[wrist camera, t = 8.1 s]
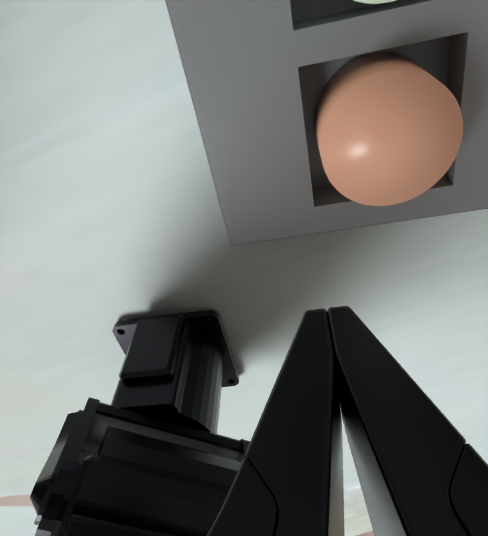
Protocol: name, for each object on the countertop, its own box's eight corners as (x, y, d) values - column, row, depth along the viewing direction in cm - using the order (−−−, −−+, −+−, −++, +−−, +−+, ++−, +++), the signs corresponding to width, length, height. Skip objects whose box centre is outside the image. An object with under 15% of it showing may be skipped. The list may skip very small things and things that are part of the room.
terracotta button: (430, 161, 18) (456, 195, 15) (319, 179, 18) (327, 214, 16) (438, 39, 15) (470, 57, 13) (307, 66, 16) (314, 88, 13)
